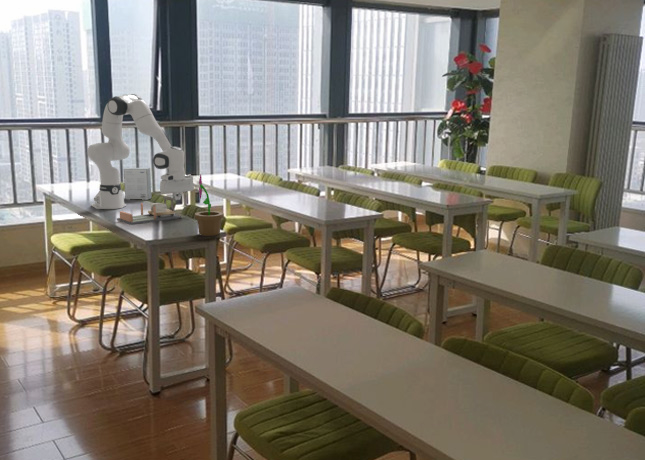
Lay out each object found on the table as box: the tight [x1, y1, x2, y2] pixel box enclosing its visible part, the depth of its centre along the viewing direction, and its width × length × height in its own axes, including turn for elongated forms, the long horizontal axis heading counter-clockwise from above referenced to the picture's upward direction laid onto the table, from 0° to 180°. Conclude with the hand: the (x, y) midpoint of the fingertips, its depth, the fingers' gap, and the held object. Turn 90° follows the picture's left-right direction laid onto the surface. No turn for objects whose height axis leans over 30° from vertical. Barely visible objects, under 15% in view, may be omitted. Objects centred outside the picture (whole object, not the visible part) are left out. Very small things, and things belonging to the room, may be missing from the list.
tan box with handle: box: [147, 195, 176, 217], centre depth 395 cm, size 10×11×10 cm
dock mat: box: [116, 214, 182, 226], centre depth 392 cm, size 17×30×1 cm, turn 132°
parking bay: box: [119, 202, 156, 222], centre depth 386 cm, size 16×15×7 cm
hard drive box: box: [123, 167, 152, 201], centre depth 457 cm, size 16×8×20 cm, turn 84°
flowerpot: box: [194, 173, 224, 237], centre depth 353 cm, size 14×14×30 cm
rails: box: [132, 213, 176, 221], centre depth 392 cm, size 8×28×1 cm, turn 132°
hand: (177, 200), depth 402 cm, fingers closed
